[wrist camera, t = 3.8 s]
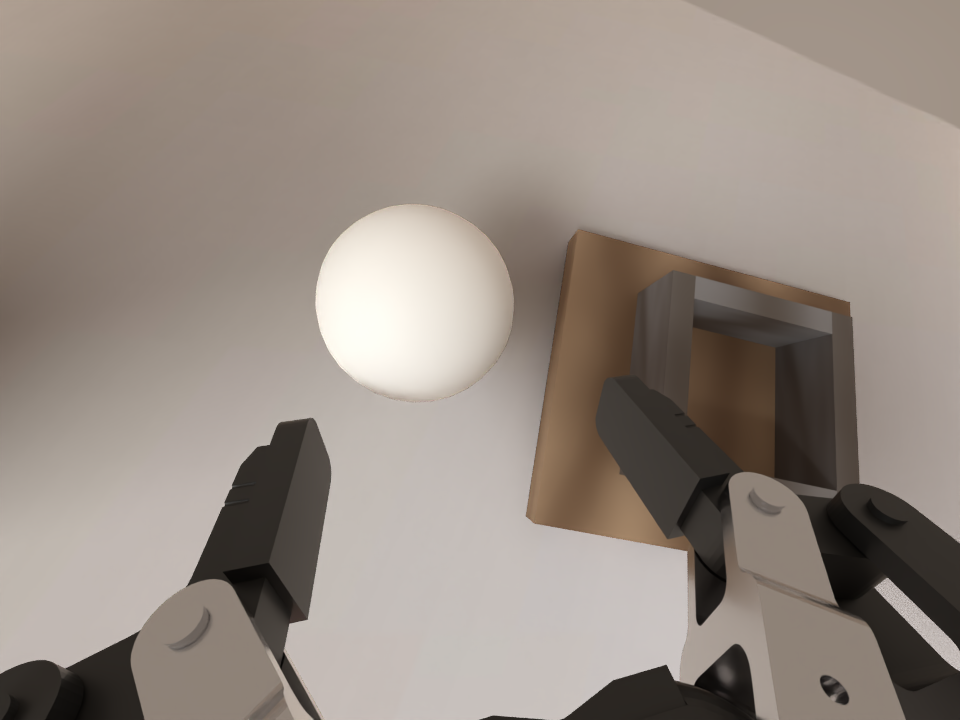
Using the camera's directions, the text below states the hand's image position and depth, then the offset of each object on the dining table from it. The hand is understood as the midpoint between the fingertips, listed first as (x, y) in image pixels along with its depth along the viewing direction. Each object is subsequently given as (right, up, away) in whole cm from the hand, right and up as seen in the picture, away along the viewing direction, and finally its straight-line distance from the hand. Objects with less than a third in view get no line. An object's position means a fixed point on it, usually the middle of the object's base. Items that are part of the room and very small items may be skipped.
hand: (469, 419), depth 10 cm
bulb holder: (+13, -1, +11) cm, 17 cm away
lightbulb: (-3, +2, +9) cm, 10 cm away
